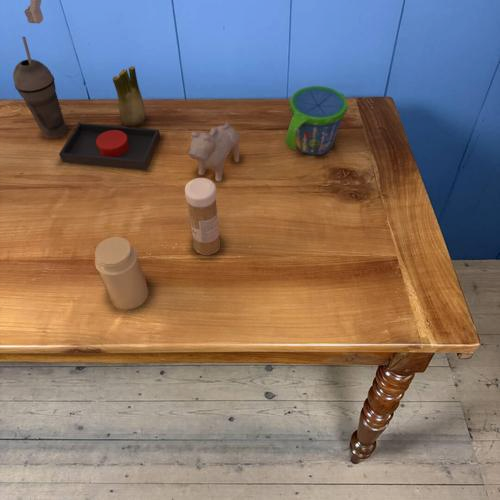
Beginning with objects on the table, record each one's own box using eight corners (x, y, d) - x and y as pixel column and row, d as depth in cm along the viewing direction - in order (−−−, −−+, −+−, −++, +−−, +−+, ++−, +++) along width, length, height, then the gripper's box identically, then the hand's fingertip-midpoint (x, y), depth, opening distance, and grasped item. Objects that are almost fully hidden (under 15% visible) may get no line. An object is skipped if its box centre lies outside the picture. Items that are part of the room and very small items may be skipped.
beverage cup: (37, 124, 98) (-4, 31, 82) (72, 118, 99) (38, 25, 84) (37, 145, 94) (-7, 51, 78) (73, 139, 95) (38, 44, 79)
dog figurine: (185, 186, 86) (177, 139, 78) (220, 147, 93) (217, 101, 85) (209, 195, 84) (204, 149, 76) (243, 155, 91) (242, 109, 83)
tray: (62, 162, 90) (58, 154, 89) (81, 130, 97) (78, 122, 95) (146, 170, 89) (144, 162, 87) (160, 137, 95) (159, 129, 93)
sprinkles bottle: (190, 239, 78) (180, 180, 67) (216, 232, 78) (210, 173, 68) (197, 259, 75) (188, 201, 64) (224, 252, 76) (219, 194, 65)
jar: (105, 307, 69) (84, 264, 61) (117, 276, 73) (99, 231, 64) (142, 312, 69) (126, 269, 60) (152, 280, 72) (139, 236, 64)
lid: (112, 161, 89) (110, 153, 88) (92, 149, 92) (89, 141, 90) (135, 146, 92) (133, 137, 91) (115, 134, 95) (113, 126, 93)
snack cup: (303, 175, 87) (308, 131, 80) (267, 148, 93) (268, 104, 85) (358, 141, 94) (368, 97, 86) (321, 118, 99) (327, 74, 91)
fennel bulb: (144, 113, 100) (132, 61, 91) (152, 125, 98) (142, 73, 88) (118, 122, 98) (104, 69, 89) (126, 134, 96) (113, 81, 86)
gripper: (-141, -94, 54) (-75, 25, 65) (23, -87, 52) (63, 34, 63) (-107, -109, 58) (-50, 5, 68) (47, -104, 56) (80, 13, 66)
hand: (5, 19), depth 65 cm, fingers open, 8 cm apart
